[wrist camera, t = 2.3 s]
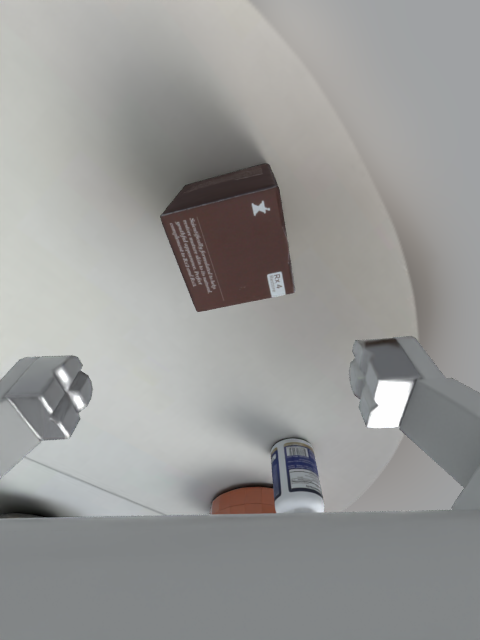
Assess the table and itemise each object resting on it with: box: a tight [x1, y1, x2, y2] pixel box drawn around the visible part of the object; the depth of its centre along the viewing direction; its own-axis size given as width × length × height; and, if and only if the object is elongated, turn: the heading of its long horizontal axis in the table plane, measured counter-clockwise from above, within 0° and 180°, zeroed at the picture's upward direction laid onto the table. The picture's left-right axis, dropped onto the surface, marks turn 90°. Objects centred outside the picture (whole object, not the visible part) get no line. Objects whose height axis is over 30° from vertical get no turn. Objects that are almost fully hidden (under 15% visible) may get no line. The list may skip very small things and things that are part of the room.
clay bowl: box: [210, 487, 276, 515], centre depth 45 cm, size 14×14×5 cm
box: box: [160, 163, 295, 312], centre depth 19 cm, size 6×6×7 cm
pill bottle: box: [271, 438, 324, 513], centre depth 34 cm, size 5×5×10 cm
